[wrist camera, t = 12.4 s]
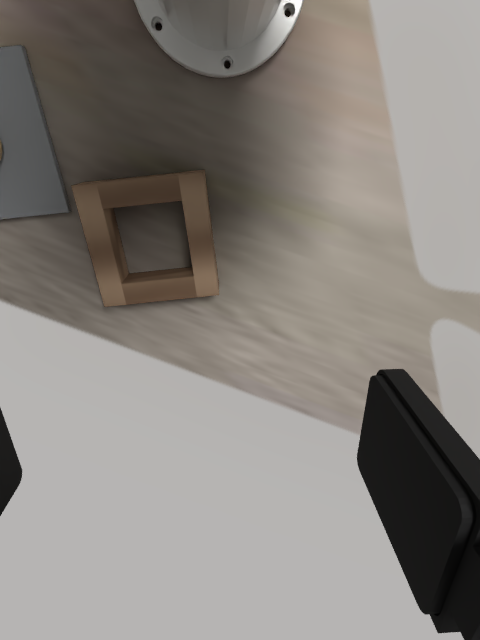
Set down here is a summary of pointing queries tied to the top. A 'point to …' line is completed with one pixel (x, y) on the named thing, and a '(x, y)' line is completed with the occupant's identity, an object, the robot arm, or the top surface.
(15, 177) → the charcoal mat
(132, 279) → the walnut caddy
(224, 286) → the top surface
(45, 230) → the top surface
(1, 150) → the sprinkles bottle
